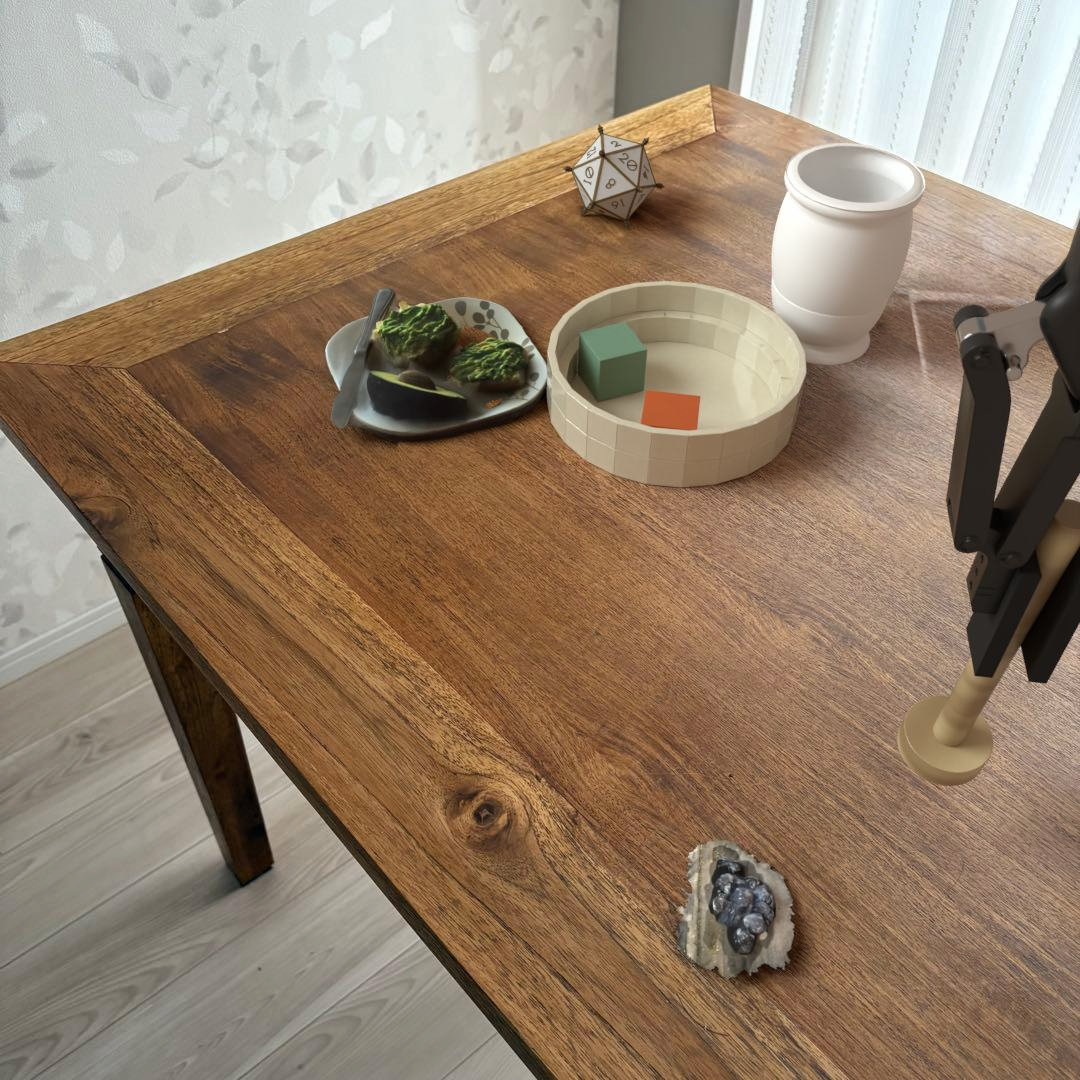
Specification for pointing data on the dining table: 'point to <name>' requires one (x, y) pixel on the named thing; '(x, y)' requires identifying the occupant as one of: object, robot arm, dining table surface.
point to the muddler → (981, 680)
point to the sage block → (611, 361)
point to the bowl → (682, 384)
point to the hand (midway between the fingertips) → (1005, 654)
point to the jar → (841, 244)
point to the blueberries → (734, 911)
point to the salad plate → (432, 369)
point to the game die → (614, 176)
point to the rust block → (670, 410)
